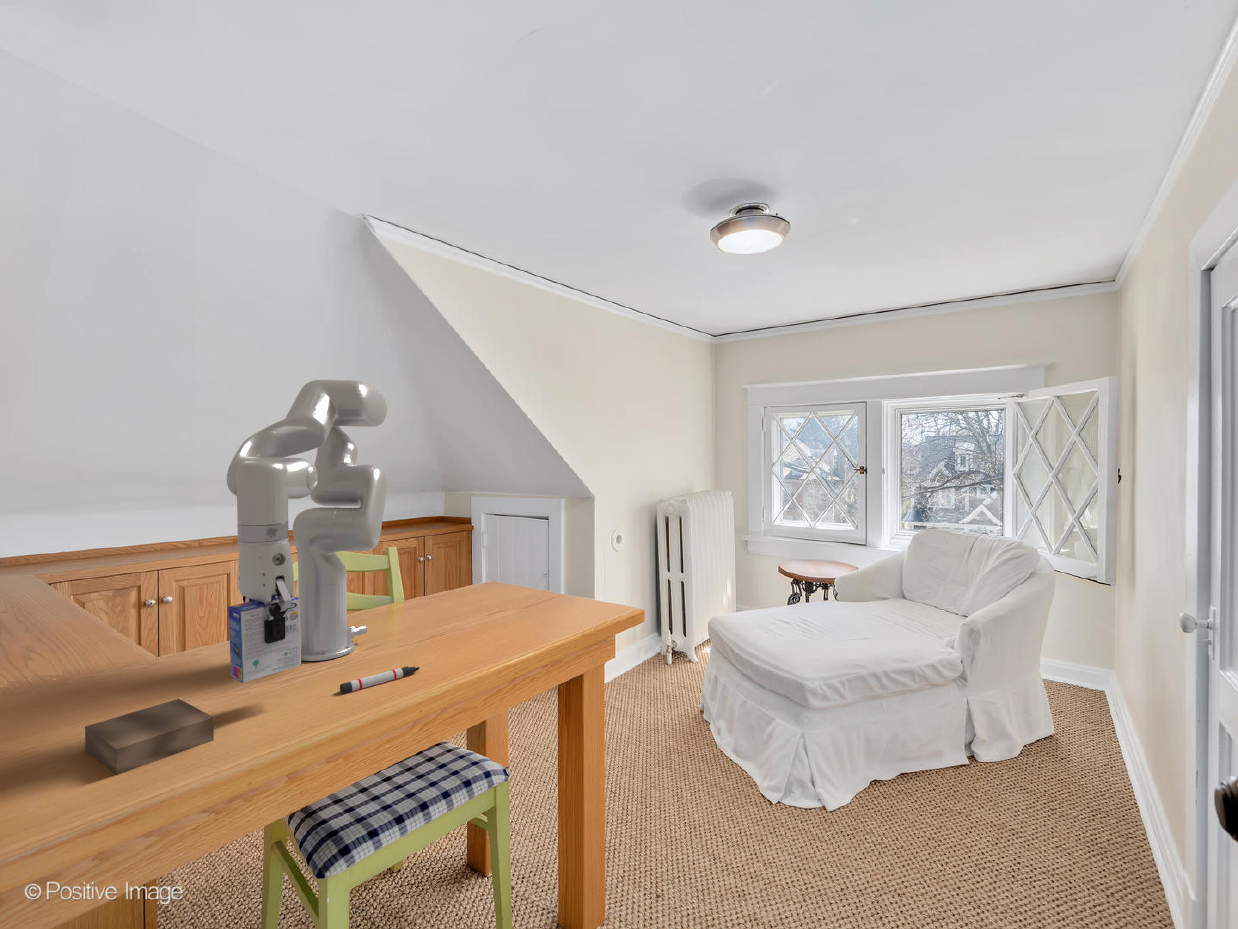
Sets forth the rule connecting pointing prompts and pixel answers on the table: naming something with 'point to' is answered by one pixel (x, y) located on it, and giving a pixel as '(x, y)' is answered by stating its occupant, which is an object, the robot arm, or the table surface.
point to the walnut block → (148, 735)
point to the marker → (377, 679)
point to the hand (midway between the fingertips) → (265, 636)
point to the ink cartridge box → (262, 641)
